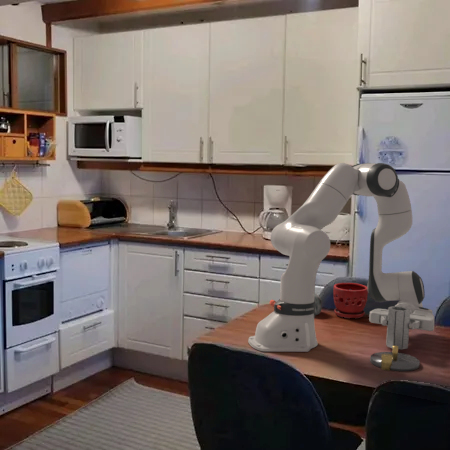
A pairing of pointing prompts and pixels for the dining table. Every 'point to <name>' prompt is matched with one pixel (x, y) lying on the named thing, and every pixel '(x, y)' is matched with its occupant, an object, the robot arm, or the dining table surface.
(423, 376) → the dining table surface
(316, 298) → the spool
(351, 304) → the plant pot
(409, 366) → the grey pot lid
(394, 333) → the octagonal pipe segment
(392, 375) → the dining table surface
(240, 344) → the dining table surface
